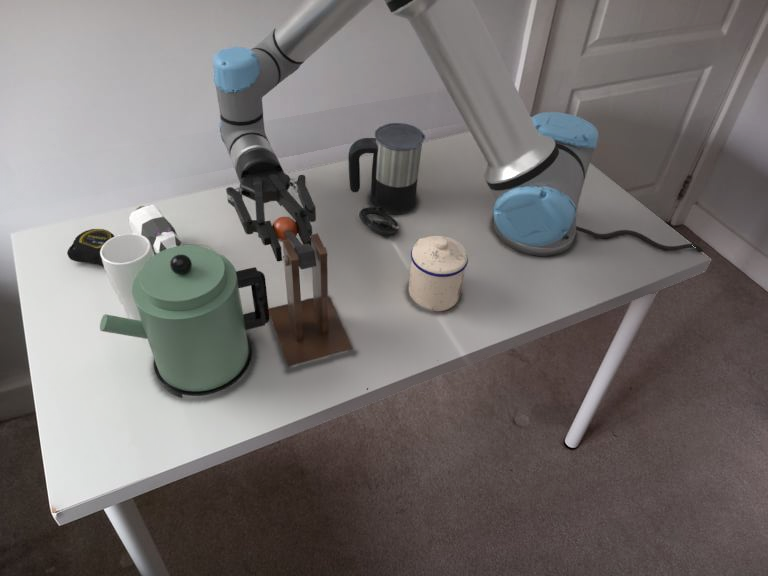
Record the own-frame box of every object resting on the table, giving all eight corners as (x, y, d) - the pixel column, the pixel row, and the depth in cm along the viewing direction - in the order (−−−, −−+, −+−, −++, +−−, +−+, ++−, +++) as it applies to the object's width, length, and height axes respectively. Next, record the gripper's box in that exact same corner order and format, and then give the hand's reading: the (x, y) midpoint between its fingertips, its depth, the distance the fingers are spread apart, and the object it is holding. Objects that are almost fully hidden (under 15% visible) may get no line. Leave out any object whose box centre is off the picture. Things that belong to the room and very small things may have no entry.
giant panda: (133, 244, 105) (119, 201, 98) (163, 233, 108) (152, 190, 101) (168, 293, 97) (155, 249, 91) (200, 280, 100) (190, 236, 93)
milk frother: (407, 184, 123) (413, 119, 113) (438, 230, 113) (448, 163, 102) (341, 195, 119) (341, 129, 108) (367, 245, 109) (370, 177, 98)
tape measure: (69, 265, 101) (62, 248, 98) (92, 240, 105) (86, 223, 103) (106, 273, 100) (100, 256, 97) (128, 247, 105) (122, 231, 102)
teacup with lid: (469, 306, 99) (481, 254, 91) (419, 318, 96) (426, 265, 88) (439, 260, 107) (448, 208, 99) (392, 270, 104) (397, 217, 96)
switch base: (267, 313, 95) (257, 227, 83) (327, 299, 98) (326, 213, 86) (288, 370, 88) (280, 284, 75) (352, 352, 91) (354, 266, 78)
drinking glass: (131, 305, 95) (105, 232, 84) (175, 304, 96) (155, 232, 85) (121, 337, 90) (93, 264, 80) (167, 336, 91) (145, 264, 80)
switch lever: (271, 240, 94) (267, 216, 92) (296, 235, 95) (292, 211, 93) (295, 276, 81) (291, 249, 79) (323, 270, 82) (320, 243, 80)
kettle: (261, 310, 96) (248, 208, 81) (284, 377, 87) (274, 275, 72) (118, 345, 89) (75, 240, 75) (127, 421, 80) (81, 319, 66)
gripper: (305, 176, 109) (348, 257, 93) (210, 193, 103) (240, 282, 88) (303, 139, 103) (349, 220, 88) (203, 155, 98) (233, 243, 83)
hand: (294, 250), depth 88 cm, fingers closed on switch lever, 4 cm apart
